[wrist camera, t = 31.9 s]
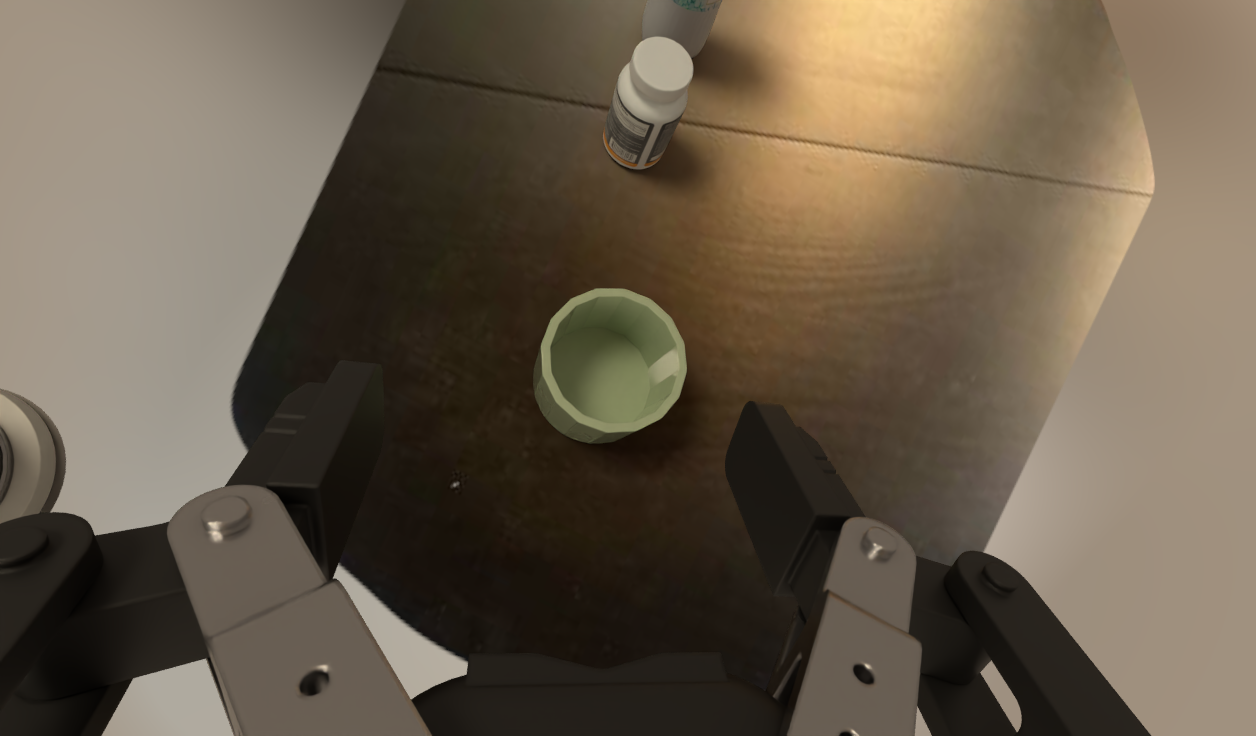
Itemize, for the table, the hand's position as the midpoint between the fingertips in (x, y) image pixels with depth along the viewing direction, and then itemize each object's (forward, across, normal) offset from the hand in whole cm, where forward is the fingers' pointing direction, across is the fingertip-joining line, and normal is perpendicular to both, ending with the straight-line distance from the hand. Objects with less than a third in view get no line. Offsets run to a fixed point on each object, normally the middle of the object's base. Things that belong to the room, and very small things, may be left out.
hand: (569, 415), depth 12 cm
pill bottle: (+43, -7, +1) cm, 43 cm away
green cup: (+27, -6, +16) cm, 32 cm away
